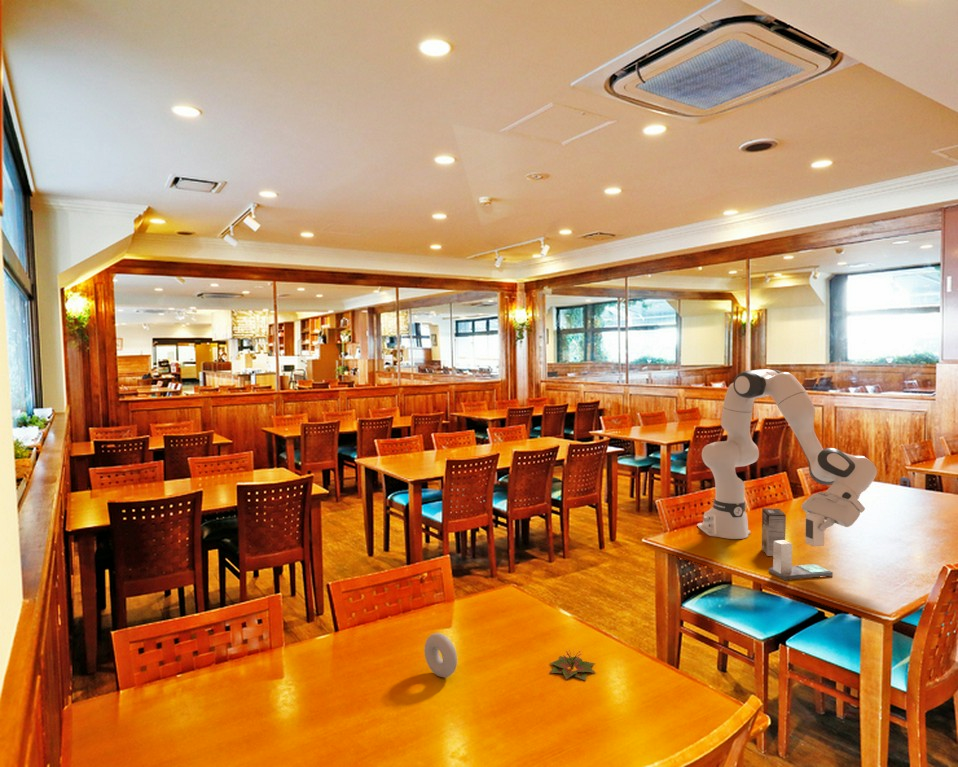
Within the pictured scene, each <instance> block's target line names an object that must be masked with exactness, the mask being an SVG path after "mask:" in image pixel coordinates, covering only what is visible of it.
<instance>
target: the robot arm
mask: <svg viewBox="0 0 958 767" xmlns="http://www.w3.org/2000/svg"><path fill="white" fill-rule="evenodd" d="M766 397H767V398H768V397H771V398H772V400H773V401H774V403H775V404H776V406H777V408H778V410H779V411H780V413H781V414H782V416H783V417H784V419H785V421H786V422H787V424H788V425H789V427H790V430H791V431H792V432H793V434H794V437H795V438H796V440H797V442H798V443H799V445H800V448H801V449H802V452H803V454H804V455H805V458H806V459H807V463H808V471H809V475H810V476H811V479H812V480H813V481H814V482H816V483H817V484H819V485H823V486H829V487H828V488H827V489H826V490H825V492H824V491H819V492H815V493H812V494H811V495H810V496H809V497H808V498H806V500H805V501H804V502H802V504H801V510H802V511H803V512H804V513H805V514H815V513H816V514H819V515H822V516H825V517H824V523H823V524H821V523H820V524H819V526H818V529H819V530H821V531H824V532H825V531H826V529H827V528H829V527H832V526H833V525H834V524H837V525H839V526H842V527H845V528H849V527H851V526H853V525H854V524H855V522H856V521H857V520H858V519H859V517H860V515H861V513H863V512H864V511H865V509H866V508H865V506H864V505H863V504H862V503H861V501H859V499H860V496H861V494H863V492H865V491H867V489H868V488H869V487H870V485H871V484H872V483H873V481H874V480H875V479H876V476H877V475H878V474H877V473H878V469H877V466H875V463H874V462H873V461H872V460H871V459H869V458H868V457H865V456H864V455H854V454H849V453H846V452H843V451H842V450H840V449H837V448H834V447H827V448H823V446H822V444H821V442H820V440H819V439H818V437H817V435H816V431H815V427H814V424H815V423H814V422H815V414H816V409H815V405H814V403H813V401H812V398H811V397H810V395H809V393H808V392H807V390H806V388H805V387H804V386H803V385H802V384H801V382H800V381H799V380H798V379H797V377H796V376H795V375H794V374H792V373H790V372H786V371H783V372H782V371H780V370H777V369H775V368H773V369H772V368H770V369H769V368H768V369H767V368H757V369H754V370H753V369H752V370H744V371H742V372H740V373H738V374H737V375H736V376H735V377H734V379H733V382H732V383H730V384H729V385H728V387H727V390H726V394H725V397H724V400H723V406H722V413H721V417H720V425H721V428H722V429H723V430H724V431H726V433H727V434H726V435H727V439H726V440H724V441H723V440H722V441H714V442H710V443H709V444H706V445H704V447H703V448H702V451H701V459H702V461H703V463H704V465H705V466H706V467H707V468H709V469H710V471H711V473H712V475H713V478H714V484H715V485H714V486H715V488H714V489H715V498H712V507H711V508H710V509H709V510H707V511H705V512H704V514H703V517H702V522H699V523H697V525H696V527H697V526H698V528H699V529H700V530H701V531H702V532H703V533H704V534H706V535H707V536H709V537H716V538H723V539H730V540H740V539H746V538H748V537H749V535H750V534H751V530H749V522H748V514H747V512H746V506H747V505H746V501H745V482H744V481H743V480H742V479H741V478H740V477H738V475H737V472H736V468H739V467H747V466H749V465H751V464H752V465H753V464H754V463H756V462H757V461H758V459H759V457H760V451H759V448H758V445H757V444H756V442H754V441H753V439H752V436H751V434H752V433H751V422H752V416H753V415H752V414H753V408H754V404H755V400H756V399H761V398H762V399H763V398H766ZM825 520H826V521H825Z"/></svg>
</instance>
